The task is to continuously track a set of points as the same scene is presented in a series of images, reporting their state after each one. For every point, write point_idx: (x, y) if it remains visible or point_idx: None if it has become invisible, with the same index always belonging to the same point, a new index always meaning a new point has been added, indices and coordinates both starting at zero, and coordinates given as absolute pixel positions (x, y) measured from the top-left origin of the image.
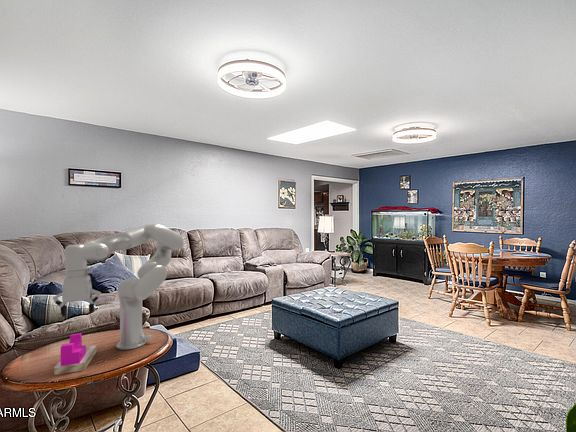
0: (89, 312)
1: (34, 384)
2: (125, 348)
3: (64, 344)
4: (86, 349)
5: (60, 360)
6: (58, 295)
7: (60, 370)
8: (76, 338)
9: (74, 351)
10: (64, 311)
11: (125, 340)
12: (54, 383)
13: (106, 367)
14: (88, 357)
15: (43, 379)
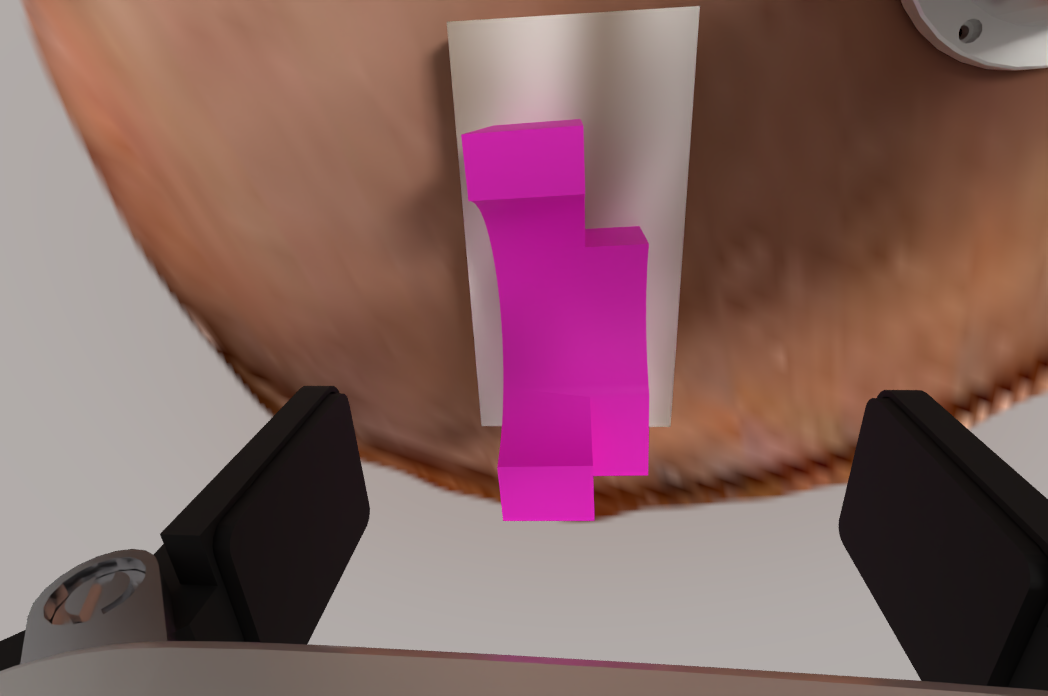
0: (854, 549)
1: (430, 479)
2: (981, 67)
3: (517, 479)
4: (621, 108)
5: (474, 315)
6: None
7: None
8: (543, 200)
9: (604, 453)
10: (327, 583)
11: (1044, 6)
12: None
13: (802, 404)
14: (676, 314)
15: (450, 435)
